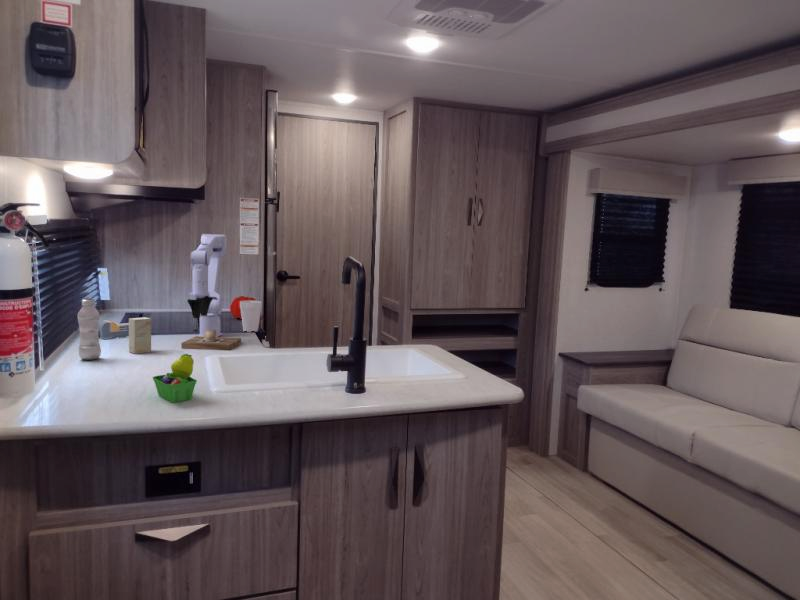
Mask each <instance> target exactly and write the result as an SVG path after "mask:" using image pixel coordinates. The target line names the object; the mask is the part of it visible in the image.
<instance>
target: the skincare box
mask: <svg viewBox="0 0 800 600" xmlns="http://www.w3.org/2000/svg"><path fill="white" fill-rule="evenodd" d="M128 323H129V337H128V352H129V353H131V354H135V355H137V354H144V353H145V354H146V353H151V352H152V318H151V317H146V316H145V317H144V316H143V317H133V318H131V317H129V318H128Z"/></svg>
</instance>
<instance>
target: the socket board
mask: <svg viewBox="0 0 800 600" xmlns="http://www.w3.org/2000/svg"><path fill="white" fill-rule="evenodd" d="M241 344H242V338H241V337H223V336H220V337H219V336H218V337H216V342H205V337H201V336H198V335H196V336H193V337H191V338H188V339H187V340H185V341H183V342H181V347H180V348H181V349H186V350H187V349H188V350H189V349H190V350H192V349H193V350H213V351H216V350H217V351H231V350H233V349H234V348H236V347H238V346H239V345H241Z"/></svg>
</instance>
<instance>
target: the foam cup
mask: <svg viewBox="0 0 800 600" xmlns="http://www.w3.org/2000/svg"><path fill="white" fill-rule="evenodd" d="M262 305H263V304H262V301H261V300H256V301H240V309H241V317H242V320H241V323H242V324H241V325H242V330H243V332H244V331H247V332H246V333H252V332H251V331H255V332H254V333H256V332H258V331H259V325H260V318H261V310H262V308H263V307H262Z"/></svg>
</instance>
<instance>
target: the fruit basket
mask: <svg viewBox="0 0 800 600" xmlns="http://www.w3.org/2000/svg"><path fill="white" fill-rule="evenodd" d="M192 357H193V355H191V354H189V353H183V354H181V356H180V357H179V358H178V359H176V360H175V361H174V362H173V363H171V365H170V368H171V372H167V373H166V374H162V375H156V376H152V379H153V382H154V384H155V388H156V392H157V394H158V396H159V397H161V398H163V399H164V400H166V401H169V402H170V403H178V402H183V401H184V402H185V401H188V400H192V397H193V394H194V391H195V387H196V384H197V380H196V379H195V378H193V377H191V375H192V374H193V371H194V359H193V358H192Z"/></svg>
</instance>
